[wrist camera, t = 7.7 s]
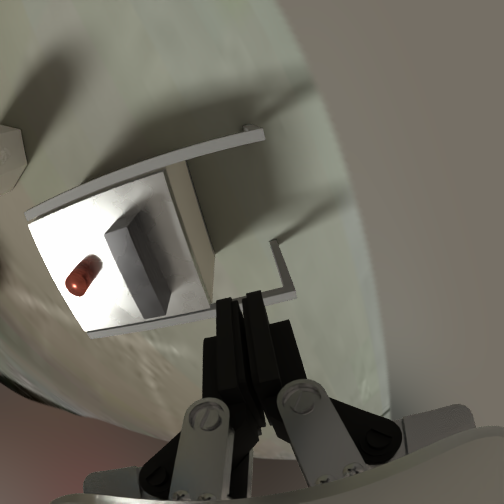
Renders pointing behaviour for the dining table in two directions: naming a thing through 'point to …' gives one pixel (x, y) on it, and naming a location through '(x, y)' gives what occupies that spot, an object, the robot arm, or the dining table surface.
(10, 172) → the jar
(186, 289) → the lid
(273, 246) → the white box with rails
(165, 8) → the dining table surface
